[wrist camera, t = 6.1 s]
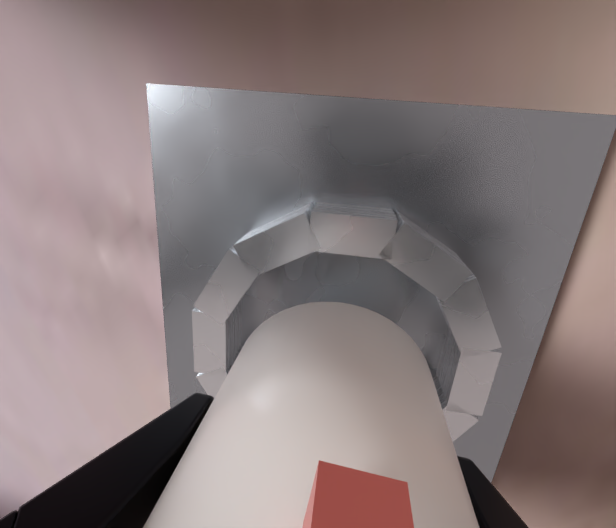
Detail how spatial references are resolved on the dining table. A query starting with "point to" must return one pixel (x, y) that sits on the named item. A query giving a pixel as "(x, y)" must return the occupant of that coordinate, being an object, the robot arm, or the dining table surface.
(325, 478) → the cylinder
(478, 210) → the plate
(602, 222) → the dining table surface
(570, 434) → the dining table surface
